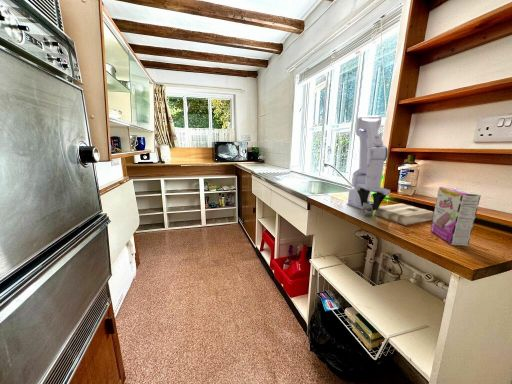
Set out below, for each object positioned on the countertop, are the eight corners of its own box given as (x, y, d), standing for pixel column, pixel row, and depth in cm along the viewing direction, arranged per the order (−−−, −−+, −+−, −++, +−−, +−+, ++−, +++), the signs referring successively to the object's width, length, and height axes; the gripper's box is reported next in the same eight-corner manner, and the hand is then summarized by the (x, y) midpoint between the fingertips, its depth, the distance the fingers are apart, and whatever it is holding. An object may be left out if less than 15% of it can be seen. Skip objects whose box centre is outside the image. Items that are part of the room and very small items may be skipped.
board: (374, 214, 93) (375, 207, 92) (400, 210, 99) (401, 203, 98) (405, 225, 81) (406, 216, 80) (431, 219, 87) (433, 211, 87)
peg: (358, 214, 92) (360, 201, 91) (367, 213, 94) (369, 200, 93) (369, 218, 88) (371, 205, 87) (378, 216, 90) (379, 203, 88)
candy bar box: (428, 231, 76) (438, 186, 72) (444, 232, 75) (455, 187, 71) (449, 245, 65) (462, 193, 61) (469, 247, 64) (482, 194, 60)
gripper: (352, 174, 92) (349, 204, 95) (383, 179, 79) (378, 214, 82) (364, 173, 95) (360, 202, 98) (395, 178, 82) (390, 212, 85)
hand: (369, 207), depth 90 cm, fingers closed on peg, 5 cm apart
